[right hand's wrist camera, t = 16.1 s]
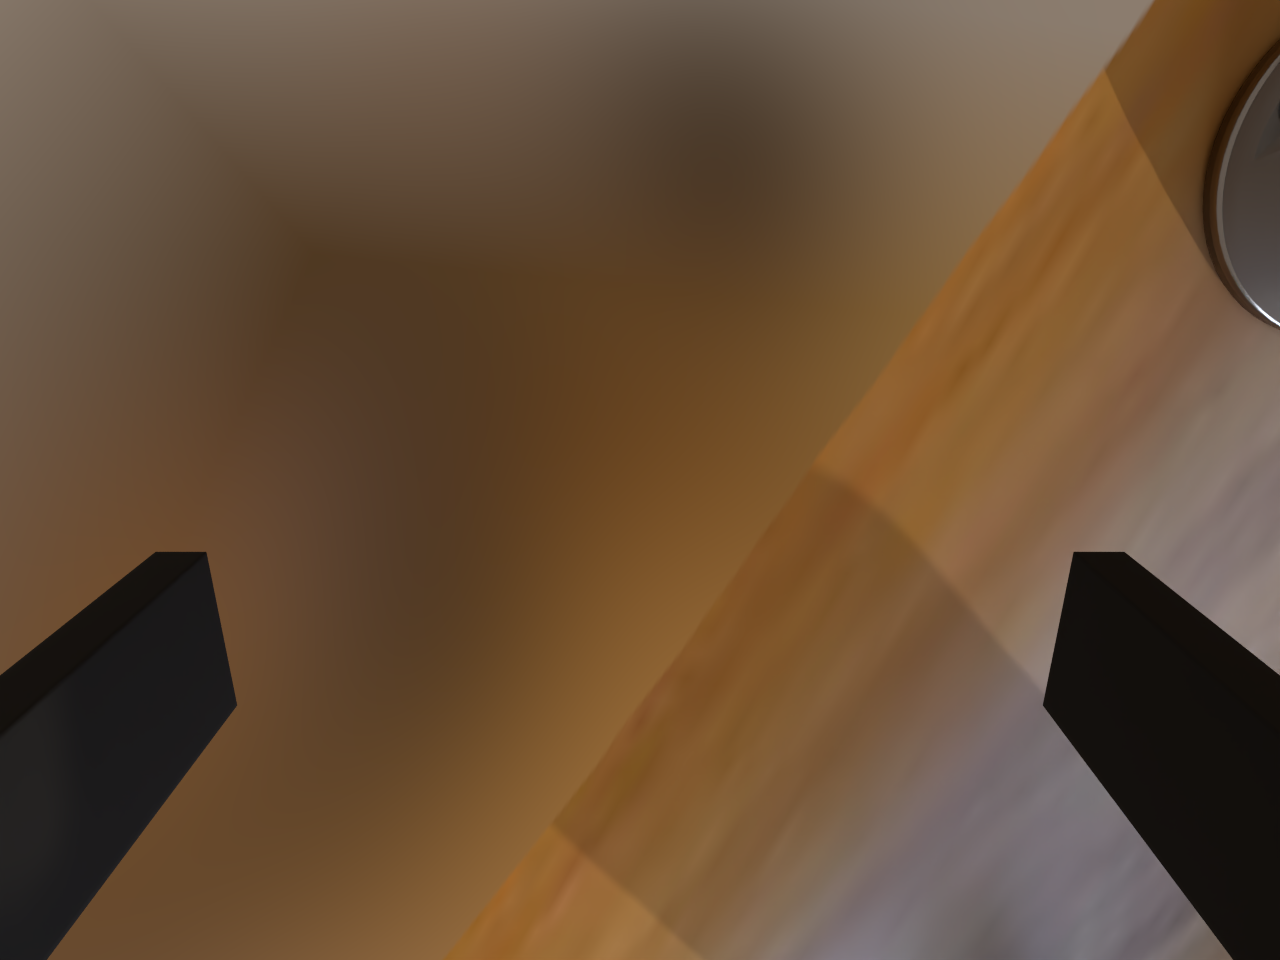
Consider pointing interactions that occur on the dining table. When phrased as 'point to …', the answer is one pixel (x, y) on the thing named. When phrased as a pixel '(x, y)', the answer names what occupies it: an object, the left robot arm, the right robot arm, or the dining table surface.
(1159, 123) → the dining table surface
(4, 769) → the right robot arm
